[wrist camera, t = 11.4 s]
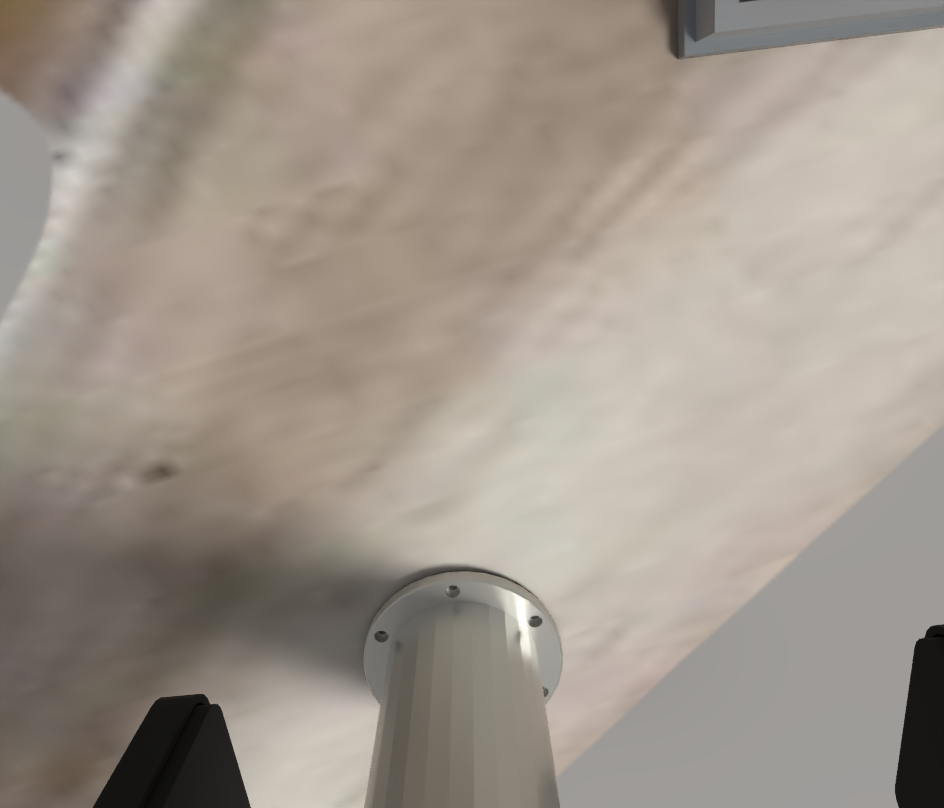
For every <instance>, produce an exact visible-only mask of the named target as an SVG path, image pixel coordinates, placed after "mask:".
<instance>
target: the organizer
mask: <svg viewBox="0 0 944 808" xmlns="http://www.w3.org/2000/svg"><path fill="white" fill-rule="evenodd" d="M942 27H944V0H678V59H685V58H693V57H701V56H709V55H718V54H726V53H734V52H743V51H751V50H759V49H768V48H776V47H784V46H793V45H801V44H809V43H818V42H826V41H834V40H843V39H851V38H859V37H867V36H876V35H884V34H892V33H901V32H909V31H917V30H926V29H934V28H942Z"/></svg>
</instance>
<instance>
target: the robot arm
mask: <svg viewBox="0 0 944 808" xmlns="http://www.w3.org/2000/svg"><path fill="white" fill-rule="evenodd" d="M562 663H563V652H562V647H561V641H560V636H559V633H558V630H557V627H556V624H555V622H554V620H553V619H552V617H551V615H550V614H549V612H548V610H547V609H546V608H545V607H544V606H543V604H542V603H541V602H540V601H539V600H538V599H537V598H536V597H535V596H534V595H532V594H531V593H529V592H528V591H527V590H525V589H524V588H523V587H521V586H519V585H517V584H515V583H513V582H511V581H509V580H507V579H504V578H501V577H498V576H494V575H490V574H487V573H479V572H470V571H460V572H446V573H441V574H437V575H432V576H428V577H425V578H423V579H421V580H418V581H416V582H413V583H411V584H409V585H408V586H406V587H404V588H403V589H401V590H400V591H398V592H397V593H395V594H394V595H393V596H392V597H391V598H390V599H389V600H388V601H387V602H386V603H385V604H384V605H383V606H382V607H381V608H380V610H379V611H378V613H377V614H376V616H375V617H374V619H373V621H372V623H371V626H370V628H369V631H368V633H367V637H366V642H365V647H364V657H363V667H364V672H365V677H366V681H367V683H368V685H369V688H370V690H371V692H372V694H373V696H374V697H375V699H376V700H377V701H378V703H379V704H380V711H379V717H378V723H377V730H376V736H375V742H374V749H373V755H372V761H371V768H370V774H369V780H368V787H367V793H366V799H365V806H364V808H560V802H559V795H558V788H557V782H556V775H555V768H554V761H553V754H552V747H551V741H550V734H549V727H548V720H547V713H546V706H545V705H546V704H547V702H548V701H549V700H550V699H551V697H552V695H553V693H554V691H555V690H556V688H557V686H558V683H559V680H560V676H561V672H562ZM895 794H896V800H897V803H898V806H899V808H944V625H935V626H931V627H930V628H929V629H928V630H927V632H926V635H925V638H922V639H919V640H918V641H917V642H916V645H915V649H914V656H913V663H912V670H911V677H910V684H909V691H908V699H907V706H906V713H905V720H904V727H903V734H902V741H901V748H900V755H899V762H898V770H897V776H896V784H895ZM93 808H251V807H250V804H249V800H248V797H247V793H246V790H245V787H244V783H243V780H242V777H241V773H240V770H239V767H238V763H237V760H236V756H235V753H234V750H233V746H232V743H231V740H230V736H229V733H228V730H227V726H226V723H225V719H224V716H223V713H222V710H221V708H220V706H219V705H218V704H210V703H209V701H208V698H207V697H206V696H205V695H204V694H195V695H184V696H173V697H162V698H160V699H158V700H156V701H155V703H154V704H153V705H152V707H151V708H150V710H149V712H148V713H147V715H146V717H145V719H144V720H143V722H142V724H141V725H140V727H139V729H138V731H137V732H136V734H135V736H134V737H133V739H132V741H131V743H130V744H129V746H128V748H127V750H126V751H125V753H124V755H123V756H122V758H121V760H120V762H119V763H118V765H117V767H116V768H115V770H114V772H113V774H112V775H111V777H110V779H109V781H108V782H107V784H106V786H105V787H104V789H103V791H102V793H101V794H100V796H99V798H98V799H97V801H96V803H95V805H94V806H93Z"/></svg>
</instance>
